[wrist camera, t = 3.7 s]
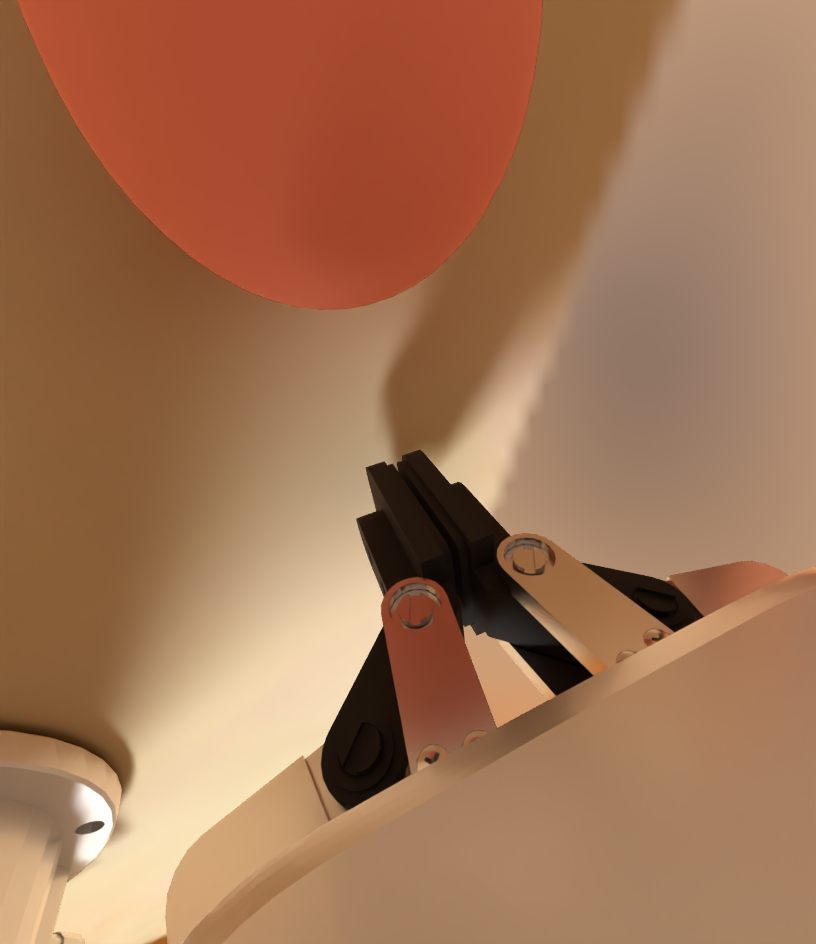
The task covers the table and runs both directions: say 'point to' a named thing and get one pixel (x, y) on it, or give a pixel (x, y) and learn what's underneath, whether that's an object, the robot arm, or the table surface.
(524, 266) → the table surface
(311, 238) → the ball
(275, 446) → the table surface
